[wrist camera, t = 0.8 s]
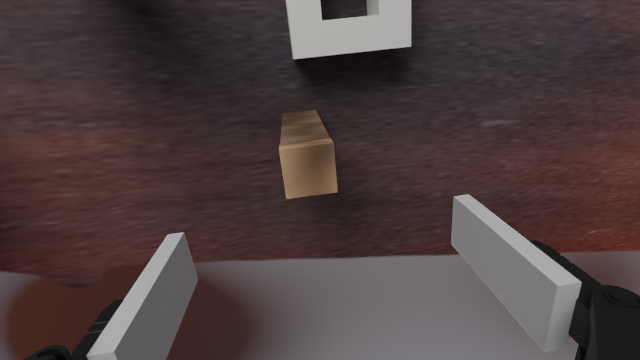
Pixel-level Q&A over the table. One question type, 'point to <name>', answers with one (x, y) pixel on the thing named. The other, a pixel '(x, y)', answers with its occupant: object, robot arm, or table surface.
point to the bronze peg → (306, 155)
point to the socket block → (348, 28)
